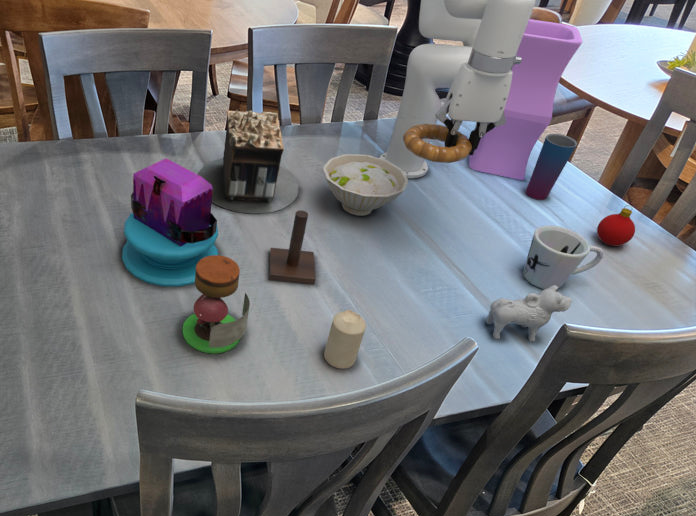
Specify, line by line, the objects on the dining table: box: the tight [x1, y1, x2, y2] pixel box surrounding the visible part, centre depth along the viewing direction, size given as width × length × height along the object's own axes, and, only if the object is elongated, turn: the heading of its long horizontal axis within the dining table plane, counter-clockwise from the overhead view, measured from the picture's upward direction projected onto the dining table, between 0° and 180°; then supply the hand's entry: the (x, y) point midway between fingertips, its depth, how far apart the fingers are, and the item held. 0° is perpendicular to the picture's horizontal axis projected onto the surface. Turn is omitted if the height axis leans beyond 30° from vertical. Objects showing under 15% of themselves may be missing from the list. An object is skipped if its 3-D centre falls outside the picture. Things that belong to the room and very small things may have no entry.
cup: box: [525, 133, 578, 201], centre depth 153 cm, size 7×7×15 cm
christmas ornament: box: [596, 204, 636, 247], centre depth 140 cm, size 7×7×10 cm
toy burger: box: [182, 254, 251, 354], centre depth 109 cm, size 12×13×15 cm
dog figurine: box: [485, 285, 573, 342], centre depth 115 cm, size 5×13×11 cm, turn 89°
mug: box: [522, 225, 604, 290], centre depth 128 cm, size 10×15×10 cm
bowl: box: [322, 153, 410, 216], centre depth 145 cm, size 19×19×10 cm
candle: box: [323, 309, 367, 370], centre depth 108 cm, size 6×6×10 cm
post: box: [269, 209, 317, 285], centre depth 125 cm, size 9×9×14 cm
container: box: [468, 18, 583, 181], centre depth 158 cm, size 14×14×35 cm
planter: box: [196, 109, 299, 214], centre depth 148 cm, size 25×25×19 cm
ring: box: [403, 124, 472, 164], centre depth 126 cm, size 13×13×3 cm
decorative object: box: [121, 157, 219, 287], centre depth 124 cm, size 20×20×20 cm
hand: (459, 150), depth 127 cm, fingers closed on ring, 3 cm apart
